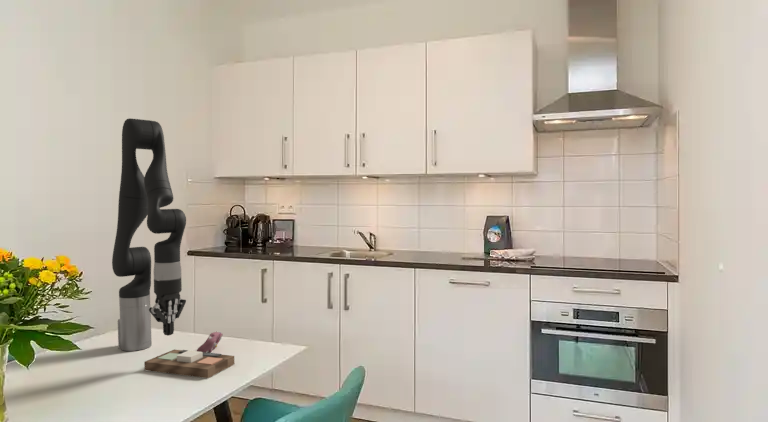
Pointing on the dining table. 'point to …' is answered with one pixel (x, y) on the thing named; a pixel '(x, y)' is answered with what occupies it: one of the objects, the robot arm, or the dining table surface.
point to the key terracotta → (209, 361)
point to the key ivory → (189, 356)
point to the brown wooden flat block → (189, 365)
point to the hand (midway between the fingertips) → (168, 334)
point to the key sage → (169, 356)
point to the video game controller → (210, 342)
